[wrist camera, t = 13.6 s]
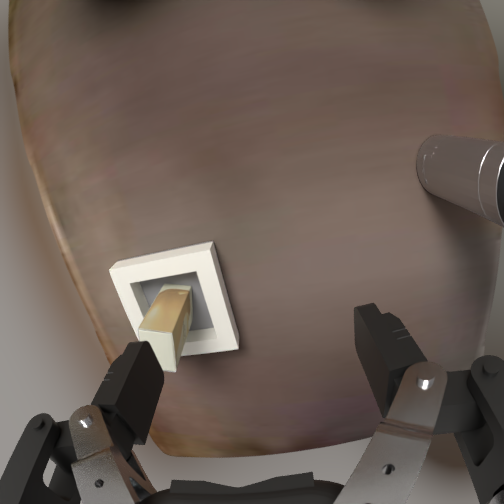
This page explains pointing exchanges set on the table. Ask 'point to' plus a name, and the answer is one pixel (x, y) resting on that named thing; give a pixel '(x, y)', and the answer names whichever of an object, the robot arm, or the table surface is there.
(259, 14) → the table surface
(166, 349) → the skincare box
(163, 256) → the holder
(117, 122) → the table surface
